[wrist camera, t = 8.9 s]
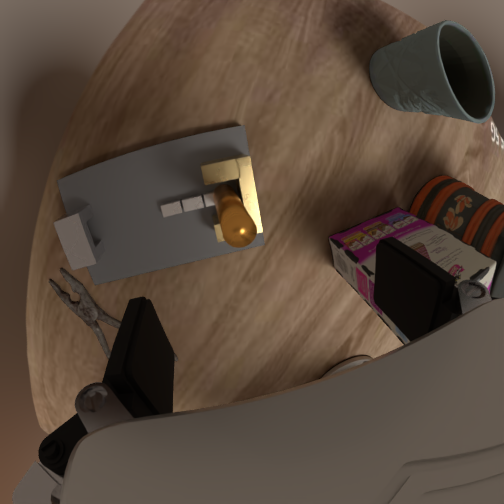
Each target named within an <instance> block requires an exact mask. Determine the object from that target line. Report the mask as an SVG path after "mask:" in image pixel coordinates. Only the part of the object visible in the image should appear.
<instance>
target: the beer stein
mask: <svg viewBox="0 0 504 504" xmlns="http://www.w3.org/2000/svg"><path fill="white" fill-rule="evenodd" d="M409 213H411V214H414V215H416V216H418V217H419V218H421V219H423V220H425V221H427V222H429V223H431V224H433V225H435V226H437V227H439V228H440V229H442V230H444V231H446V232H448V233H450V234H451V235H453V236H455V237H456V238H458V239H460V240H462V241H463V242H465V243H467V244H469V245H470V246H472V247H474V248H475V249H477V250H478V251H480V252H482V253H483V254H485V255H486V256H488V257H490V258H491V259H493V260H494V261H496V267H495V272H494V277H493V282H492V286H491V290H490V296H491V297H496V298H504V205H503V204H502V203H501V202H498V201H497V200H495V199H488V198H487V197H485V196H483V195H481V194H479V193H477V192H475V190H474V189H473V188H472V187H470V186H469V185H466V184H465V183H462V182H461V181H458V180H456V179H453V178H451V177H449V176H439V177H436V178H434V179H432V180H431V181H429V182H428V183H427V184H426V185H425V186H423V187H422V188H421V190H420V191H419V193H418V194H417V195H416V197H415V198H414V200H413V203H412V205H411V208H410V211H409Z"/></svg>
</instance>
